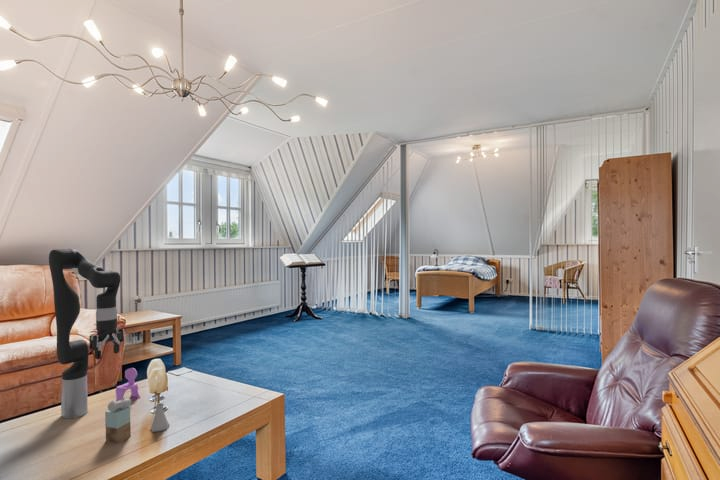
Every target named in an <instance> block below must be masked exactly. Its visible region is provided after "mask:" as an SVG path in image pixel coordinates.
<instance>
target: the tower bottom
mask: <svg viewBox="0 0 720 480" xmlns="http://www.w3.org/2000/svg"><path fill="white" fill-rule="evenodd" d="M131 433H132V432H131V421H130V422H129V423H127V424H125V425H123V426H121V427H120V428H118V429H117V428H111V427H105V442H106V443H112V444H120V443H121V442H123V441H125V440H127V439H128V438H130V437H131V435H132V434H131Z"/></svg>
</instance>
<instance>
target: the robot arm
mask: <svg viewBox="0 0 720 480" xmlns="http://www.w3.org/2000/svg"><path fill="white" fill-rule="evenodd" d="M48 266H49V271H50V275H51V276H50V277H51V281H52V289H53V301H54V302H53V304H54V315H55V322H56V323H55V324H56V325H55V326H56V356H57V362H59V364H61V365H63V366H64V365H69V364H71V365H70V367H68V368H66V369H65V370H64V371H63V372H61V381H62V382H61V387H62V390H61V392H62V394H61V396H60V406H61V415H62V417H63V418H64V419H76V418H79V417H82V416H84V415H86V414H87V413H88V412H89V411H88V410H89V409H88V369H89V357H90V356H89V355H90V354H89V353H90V351H93V352H94V359H96V360H98V361H99V360H102V347H103V346H104V345H105V344H107V343H109V342H111V343H113V345H112V346H113V347H112V348H113V354H118V353H119V352H120V344H121V343H123V342H124V341H125V340H124V329H123V327H122V328H121V327H120V328H119V327H118V309H117V295H118V291H119V287H120V284H121V275H120V273H119V272H118V271H117V270H115V269H112V270H104V268H103V267H102V266H100V265H97V264H96V263H93V262H92V261H90V259H88V258H87V257H86V256H84V255H83V254H82V253H81V252H80V251H79V250H77V249H74V248H59V249H52V250H50V252H49V254H48ZM72 269H77V272H78V274H79V275H80V276H81V277H82V278H84V279H86V280H87V281H89V283H90V284H91V286H92V287H94V289H95V288H96V289H105V288H106V289H105V291H104V292H102V293H99V294H97V295H96V312H95V326H96V327H95V328H96V331H97V334H91V335H89V344H88V343H87V341H86V340H84V339H78V340H74V341H70V336H71V335H70V334H71V330H72V328H73V326H74V325H75V323H76V321H77V319H78V317H79V315H80V313H81V304H80V297H79V294H78V293H77V292H76V290H74V289H73V287H72V286H71V285H70V284H69V282H67V280H66V278H65V273H64V270H72Z"/></svg>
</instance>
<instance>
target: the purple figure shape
mask: <svg viewBox="0 0 720 480" xmlns="http://www.w3.org/2000/svg"><path fill="white" fill-rule="evenodd" d="M137 377H138V371H137V370H136V368H134V367H130V368H127V369H125V371H124V378H125V379H126V380H128V381H127V382H126V383H123V384H121V385H118V386H116V388H115V396H116V397H115V402H117V401H119V400H121V399H123V398H124V396H125V394H126V392H127V391H128V390H130V396H131V397H134V398H139V399H140V398H141V395H140V394H139V386H138V383H135V381H136V378H137Z"/></svg>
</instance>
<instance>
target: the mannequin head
mask: <svg viewBox="0 0 720 480" xmlns="http://www.w3.org/2000/svg"><path fill="white" fill-rule="evenodd" d="M131 405H132V399H130V398H124V397H123V399H121V400H119V401H117V402H116V401H114V400H111V401H110V402H109V403H108V404H107V410H109V411H110V412H114V411H115V410H116V409H125V408H127V407H131Z"/></svg>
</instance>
